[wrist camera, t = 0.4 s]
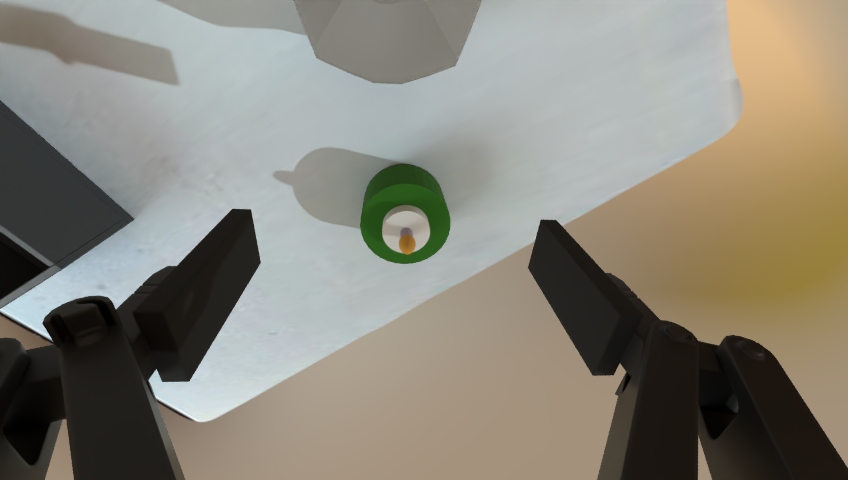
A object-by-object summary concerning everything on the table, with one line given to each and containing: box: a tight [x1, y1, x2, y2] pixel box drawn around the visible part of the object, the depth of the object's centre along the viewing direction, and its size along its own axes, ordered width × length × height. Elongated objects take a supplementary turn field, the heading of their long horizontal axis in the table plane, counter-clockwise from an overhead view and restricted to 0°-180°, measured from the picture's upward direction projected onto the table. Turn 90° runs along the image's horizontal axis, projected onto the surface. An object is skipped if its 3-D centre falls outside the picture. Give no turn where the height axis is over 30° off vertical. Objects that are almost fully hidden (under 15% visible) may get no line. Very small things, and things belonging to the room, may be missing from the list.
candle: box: [360, 164, 450, 264], centre depth 32 cm, size 8×8×10 cm
